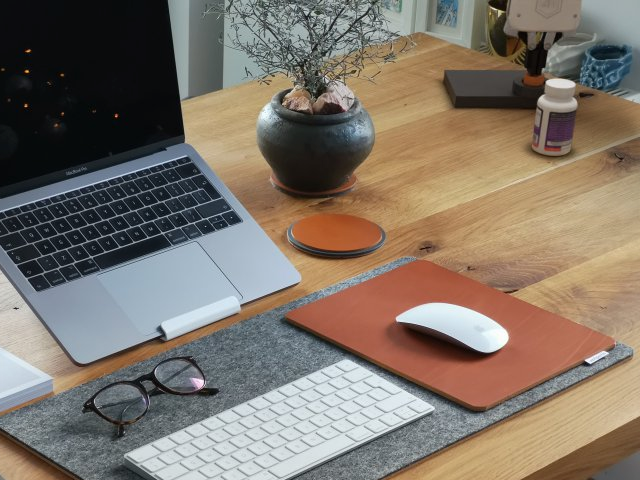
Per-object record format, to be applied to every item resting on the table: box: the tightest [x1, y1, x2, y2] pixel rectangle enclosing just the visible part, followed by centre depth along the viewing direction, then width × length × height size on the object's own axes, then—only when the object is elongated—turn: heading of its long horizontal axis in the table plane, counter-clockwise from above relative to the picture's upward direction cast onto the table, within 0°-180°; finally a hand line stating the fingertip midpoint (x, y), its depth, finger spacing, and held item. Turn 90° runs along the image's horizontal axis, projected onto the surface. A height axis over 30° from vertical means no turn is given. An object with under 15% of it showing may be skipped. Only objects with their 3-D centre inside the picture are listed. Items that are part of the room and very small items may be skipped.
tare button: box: [523, 72, 545, 86], centre depth 170 cm, size 3×3×2 cm
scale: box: [443, 69, 551, 109], centre depth 174 cm, size 15×13×4 cm
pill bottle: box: [531, 78, 579, 157], centre depth 154 cm, size 5×5×10 cm
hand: (533, 72), depth 170 cm, fingers closed
